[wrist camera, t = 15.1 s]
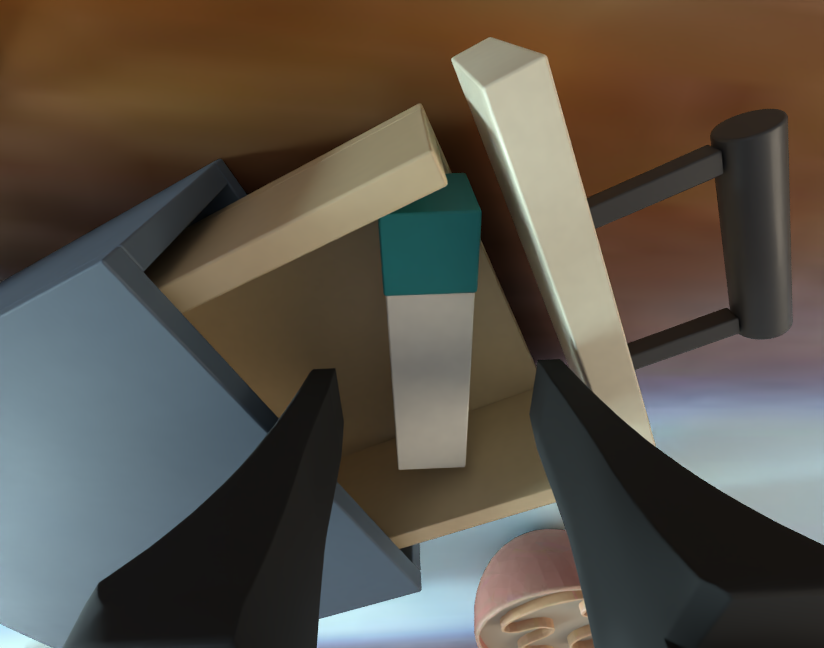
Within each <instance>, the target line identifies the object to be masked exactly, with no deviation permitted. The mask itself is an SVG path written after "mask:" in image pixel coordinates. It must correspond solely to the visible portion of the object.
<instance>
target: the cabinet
mask: <svg viewBox="0 0 824 648" xmlns="http://www.w3.org/2000/svg"><path fill="white" fill-rule="evenodd" d="M245 196H247V194H246V193H245V191H244V190H243V188H242V187H241V186H240V184H239V183H238V181H237V180H236V178H235V177H234V176H233V174H232V173H231V171H230V170H229V169H228V167H227V166H226V164H225V163H224V161H223V160H222V159H218V160H216V161H214V162H212V163H211V164H209V165H207V166H205V167H203V168H202V169H200V170H198V171H196V172H195V173H193V174H191V175H189V176H188V177H186V178H184V179H182V180H180V181H179V182H177V183H175V184H173V185H172V186H170V187H168V188H166V189H165V190H163V191H161V192H159V193H158V194H156V195H154V196H152V197H150V198H149V199H147V200H145V201H143V202H142V203H140V204H138V205H136V206H135V207H133V208H131V209H129V210H127V211H126V212H124V213H122V214H120V215H119V216H117V217H115V218H113V219H112V220H110V221H108V222H106V223H104V224H103V225H101V226H99V227H97V228H96V229H94V230H92V231H90V232H89V233H87V234H85V235H83V236H82V237H80V238H78V239H76V240H74V241H73V242H71V243H69V244H67V245H66V246H64V247H62V248H60V249H59V250H57V251H55V252H53V253H51V254H50V255H48V256H46V257H44V258H43V259H41V260H39V261H37V262H36V263H34V264H32V265H30V266H28V267H27V268H25V269H23V270H21V271H20V272H18V273H16V274H14V275H13V276H11V277H9V278H7V279H5V280H4V281H2V282H0V624H1V625H3V626H6V627H8V628H10V629H12V630H14V631H17V632H19V633H21V634H23V635H25V636H28V637H30V638H32V639H34V640H36V641H39V642H41V643H43V644H45V645H47V646H50V647H52V648H63V646H64V644H65V642H66V640H67V638H68V636H69V634H70V632H71V630H72V629H73V627H74V625H75V623H76V621H77V619H78V617H79V615H80V613H81V611H82V609H83V608H84V606H85V604H86V602H87V601H88V599H89V598H90V596H91V594H92V593H93V591H94V590H95V588H96V586H97V585H98V583H99V582H100V581H102V580H103V579H105V578H106V577H108V576H109V575H111V574H112V573H114V572H115V571H116V570H118V569H119V568H121V567H122V566H124V565H125V564H126V563H128V562H129V561H131V560H132V559H134V558H135V557H136V556H138V555H139V554H141V553H142V552H143V551H145V550H146V549H148V548H149V547H150V546H152V545H153V544H154V543H156V542H157V541H158V540H159V539H161V538H162V537H163V536H164V535H166V534H167V533H168V532H169V531H171V530H172V529H173V528H174V527H175V526H177V525H178V524H179V523H180V522H182V521H183V520H184V519H185V518H186V517H188V516H189V515H190V514H191V513H192V512H193V511H195V510H196V509H197V508H198V507H199V506H200V505H201V504H202V503H204V502H205V501H206V500H207V499H208V498H209V497H210V496H211V495H212V494H213V493H214V492H215V491H216V490H217V489H218V488H219V487H220V486H221V485H222V484H223V483H224V482H225V481H226V480H227V479H228V478H229V477H230V476H231V475H232V474H233V473H234V472H235V471H236V470H237V469H238V468H239V467H240V466H241V465H242V463H243V462H244V461H245V460H246V459H247V458H248V457H249V456H250V454H251V453H252V452H253V451H254V450H255V449H256V447H257V446H258V445H259V444H260V442H261V441H262V440H263V439H264V437H265V436H266V435H267V434H268V432H269V431H270V430H271V429H272V427H273V426H274V425H275V423H276V422H277V421H278V419H279V418H278V417H277V416H276V415H275V414H274V413H273V412H272V411H271V410H270V408H269V407H268V406H267V405H266V404H265V403H264V402H263V401H262V400H261V399H260V398H259V397H258V395H257V394H256V393H255V392H254V391H253V390H252V389H251V388H250V387H249V386H248V385H247V384H246V382H245V381H244V380H243V379H242V378H241V377H240V376H239V375H238V374H237V373H236V372H235V371H234V370H233V368H232V367H231V366H230V365H229V364H228V363H227V362H226V361H225V360H224V359H223V358H222V357H221V355H220V354H219V353H218V352H217V351H216V350H215V349H214V348H213V347H212V346H211V345H210V344H209V342H208V341H207V340H206V339H205V338H204V337H203V336H202V335H201V334H200V333H199V332H198V331H197V329H196V328H195V327H194V326H193V325H192V324H191V323H190V322H189V321H188V320H187V319H186V318H185V317H184V315H183V314H182V313H181V312H180V311H179V310H178V309H177V308H176V307H175V306H174V305H173V304H172V302H171V301H170V300H169V299H168V298H167V297H166V296H165V295H164V294H163V293H162V292H161V291H160V289H159V288H158V287H157V286H156V285H155V284H154V283H153V282H152V281H151V280H150V279H149V278H148V276H147V275H146V274H145V273H144V271H145V270H146V269H147V268H148V267H149V266H150V265H151V264H152V263H153V262H154V261H155V259H156V258H157V257H158V256H159V255H160V254H161V253H162V252H163V251H164V250H165V249H166V248H167V247H168V246H169V245H170V244H171V243H172V242H173V241H174V240H175V238H176V237H177V236H178V235H179V234H180V233H181V232H182V231H183V230H184V229H185V228H187V227H189V226H191V225H193V224H194V223H196V222H198V221H200V220H202V219H204V218H206V217H208V216H209V215H211V214H213V213H215V212H217V211H219V210H221V209H223V208H224V207H226V206H228V205H230V204H232V203H234V202H236V201H238V200H239V199H241V198H243V197H245ZM420 570H421V568H420V545H419V543H418V544H414V545H411V546H408V547H404V548H401V549H399V548H398V547H397V546H396V545H395V544H394V543H393V542H392V540H391V539H390V538H389V537H388V536H387V535H386V534H385V533H384V532H383V531H382V530H381V529H380V527H379V526H378V525H377V524H376V523H375V522H374V521H373V520H372V519H371V518H370V517H369V516H368V514H367V513H366V512H365V511H364V510H363V509H362V508H361V507H360V506H359V505H358V504H357V503H356V501H355V500H354V499H353V498H352V497H351V496H350V495H349V494H348V493H347V492H346V491H345V490H344V489H343V487H342V486H341V485H340V484H339V483H338V482H337V484H336V489H335V494H334V499H333V505H332V510H331V515H330V520H329V526H328V531H327V537H326V544H325V552H324V563H323V574H322V585H321V597H320V609H319V619H321V618H324V617H328V616H332V615H335V614H339V613H343V612H346V611H350V610H354V609H357V608H361V607H365V606H368V605H372V604H376V603H379V602H383V601H387V600H390V599H394V598H398V597H401V596H405V595H409V594H412V593H416V592H420V591H421V572H420Z"/></svg>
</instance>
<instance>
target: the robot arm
mask: <svg viewBox="0 0 824 648" xmlns="http://www.w3.org/2000/svg"><path fill="white" fill-rule="evenodd" d="M529 415H530V420H531V425H532V430H533V434H534V438H535V443H536V447H537V450H538V453H539V456H540V459H541V462H542V464H543V467H544V470H545V473H546V476H547V478H548V481H549V484H550V487H551V489H552V492H553V495H554V498H555V500H556V503H557V506H558V509H559V511H560V514H561V517H562V520H563V522H564V526H565V529H566V532H567V535H568V538H569V542H570V546H571V550H572V554H573V558H574V562H575V565H576V569H577V573H578V577H579V582H580V586H581V590H582V594H583V599H584V603H585V607H586V611H587V616H588V620H589V625H590V630H591V634H592V639H593V644H594V648H824V545H822V544H820V543H818V542H816V541H814V540H812V539H810V538H808V537H806V536H804V535H801V534H799V533H797V532H795V531H793V530H791V529H789V528H787V527H785V526H783V525H781V524H779V523H777V522H775V521H773V520H771V519H769V518H768V517H766V516H764V515H762V514H760V513H758V512H757V511H755V510H753V509H751V508H749V507H747V506H746V505H744V504H742V503H740V502H739V501H737V500H735V499H733V498H732V497H730V496H728V495H727V494H725V493H723V492H721V491H720V490H718V489H717V488H715V487H714V486H712V485H710V484H709V483H707V482H706V481H704V480H702V479H701V478H699V477H698V476H696V475H695V474H693V473H692V472H690V471H689V470H687V469H686V468H684V467H683V466H681V465H680V464H678V463H677V462H676V461H674V460H673V459H672V458H670V457H669V456H667V455H666V454H665V453H663V452H662V451H661V450H659V449H658V448H656V447H655V446H654V445H653V444H651V443H650V442H649V441H647V440H646V439H645V438H644V437H643V436H641V435H640V434H639V433H638V432H637V431H635V430H634V429H633V428H632V427H631V426H629V425H628V424H627V423H626V422H625V421H623V420H622V419H621V418H620V417H619V416H618V415H617V414H616V413H615V412H614V411H612V410H611V409H610V408H609V407H608V406H607V405H606V404H605V403H604V402H603V401H602V400H601V399H600V398H599V397H598V396H597V395H596V394H594V393H593V392H592V391H591V390H590V389H589V388H588V387H587V386H586V385H585V384H584V383H583V382H582V381H581V380H580V379H579V378H578V377H577V376H576V374H575V373H574V372H573V371H572V370H571V369H570V368H569V367H568V366H567V365H566V364H565V363H564V362H563V361H562V360H560V359H553V360H538V362H537V368H536V375H535V381H534V387H533V394H532V400H531V407H530V413H529ZM343 429H344V419H343V413H342V406H341V400H340V394H339V387H338V381H337V375H336V368H327V369H313V370H312V371H311V372H310V373H309V374H308V376H307V378H306V379H305V381H304V382H303V384H302V386H301V387H300V389H299V390H298V392H297V393H296V395H295V396H294V398H293V399H292V401H291V402H290V404H289V405H288V407H287V408H286V410H285V411H284V412H283V414H282V415H281V416H280V418H279V419H278V421H277V422H276V423H275V425H274V426H273V427H272V429H271V430H270V431H269V432H268V434H267V435H266V436H265V437H264V439H263V440H262V441H261V442H260V444H259V445H258V446H257V447H256V449H255V450H254V451H253V452H252V453H251V454H250V456H249V457H248V458H247V459H246V460H245V461H244V462H243V463H242V465H241V466H240V467H239V468H238V469H237V470H236V471H235V472H234V473H233V474H232V475H231V476H230V477H229V478H228V479H227V480H226V481H225V482H224V483H223V484H222V485H221V486H220V487H219V488H218V489H217V490H216V491H215V492H214V493H213V494H212V495H211V496H210V497H209V498H208V499H207V500H206V501H205V502H204V503H202V504H201V505H200V506H199V507H198V508H197V509H196V510H195V511H193V512H192V513H191V514H190V515H189V516H188V517H186V518H185V519H184V520H183V521H182V522H180V523H179V524H178V525H177V526H175V527H174V528H173V529H172V530H171V531H169V532H168V533H167V534H166V535H164V536H163V537H162V538H161V539H159V540H158V541H157V542H156V543H154V544H153V545H152V546H150V547H149V548H148V549H146V550H145V551H143V552H142V553H141V554H139V555H138V556H136V557H135V558H134V559H132V560H131V561H129V562H128V563H126V564H125V565H124V566H122V567H121V568H119V569H118V570H116V571H115V572H114V573H112V574H111V575H109V576H108V577H106V578H105V579H103V580H102V581H100V582H99V583H98V585H97V586H96V588H95V590H94V591H93V593H92V594H91V596H90V598H89V599H88V601H87V602H86V604H85V606H84V608H83V609H82V611H81V613H80V615H79V617H78V619H77V621H76V623H75V625H74V627H73V629H72V630H71V632H70V634H69V636H68V638H67V640H66V642H65V644H64V646H63V648H317V635H318V621H319V609H320V597H321V585H322V574H323V563H324V552H325V544H326V537H327V531H328V526H329V520H330V515H331V510H332V505H333V499H334V494H335V489H336V484H337V478H338V473H339V468H340V462H341V457H342V444H343Z"/></svg>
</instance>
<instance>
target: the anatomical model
mask: <svg viewBox="0 0 824 648" xmlns="http://www.w3.org/2000/svg"><path fill="white" fill-rule="evenodd" d="M474 634H475V638H476V642H477V646H478V648H594V644H593V639H592V634H591V630H590V625H589V620H588V616H587V611H586V607H585V603H584V599H583V594H582V590H581V586H580V582H579V577H578V573H577V569H576V565H575V562H574V558H573V554H572V550H571V546H570V542H569V538H568V535H567V532H566V530H562V529H541V530H535V531H531V532H528V533H525V534H523V535H520V536H518V537H516V538H514V539H513V540H511V541H510V542H508V543H507V544H505V545H504V546H503V547H502V548H501V549H500V550H499V551H498V552H497V553H496V554H495V555H494V557H493V558H492V559H491V561H490V562H489V564H488V565H487V567H486V569H485V571H484V573H483V575H482V577H481V579H480V583H479V586H478V589H477V593H476V599H475V605H474Z"/></svg>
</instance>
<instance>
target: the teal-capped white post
mask: <svg viewBox="0 0 824 648" xmlns="http://www.w3.org/2000/svg"><path fill="white" fill-rule="evenodd" d="M445 175H446V178H447V185H446V186H445V187H443V188H441V189H439V190H437V191H435V192H433V193H431V194H429V195H427V196H425V197H423V198H421V199H418V200H416V201H414V202H412V203H410V204H408V205H406V206H404V207H402V208H400V209H398V210H396V211H394V212H392V213H390V214H387V215H385V216H383V217H381V218H379V219H378V228H379V241H380V255H381V268H382V282H383V293H384V295H385V296H386V309H387V323H388V337H389V351H390V365H391V379H392V393H393V407H394V421H395V435H396V449H397V463H398V469H399V470H406V469H431V468H455V467H465V465H466V447H467V429H468V410H469V391H470V373H471V354H472V336H473V317H474V298H475V292H476V291H477V287H478V269H479V252H480V234H481V217H482V212H481V209H480V207H479V204H478V202H477V199H476V197H475V195H474V192H473V190H472V187H471V185H470V182H469V180H468V178H467V175H466V174H465V173H449V174H445Z"/></svg>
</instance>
